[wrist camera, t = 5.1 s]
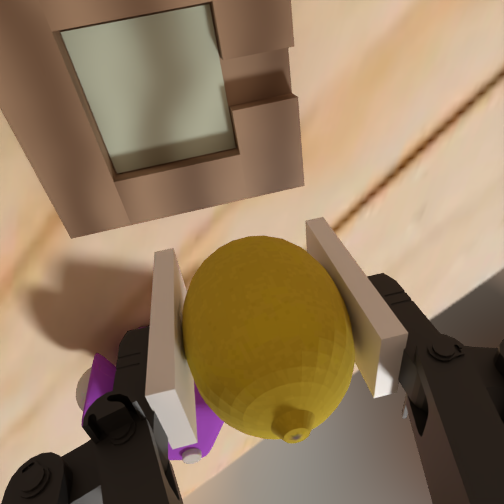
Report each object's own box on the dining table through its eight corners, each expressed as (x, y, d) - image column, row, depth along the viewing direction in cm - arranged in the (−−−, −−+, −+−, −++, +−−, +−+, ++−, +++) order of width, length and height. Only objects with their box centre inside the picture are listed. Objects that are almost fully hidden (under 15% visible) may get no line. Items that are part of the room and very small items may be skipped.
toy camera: (81, 319, 34) (52, 416, 26) (223, 314, 37) (237, 400, 29) (93, 390, 40) (73, 487, 32) (215, 380, 43) (226, 467, 35)
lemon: (270, 173, 13) (361, 326, 7) (324, 267, 17) (423, 434, 10) (151, 246, 14) (133, 444, 8) (224, 323, 17) (255, 510, 11)
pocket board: (78, 222, 28) (71, 238, 26) (-51, -30, 19) (-78, -35, 17) (295, 173, 30) (304, 185, 28) (272, -87, 20) (283, -98, 18)
